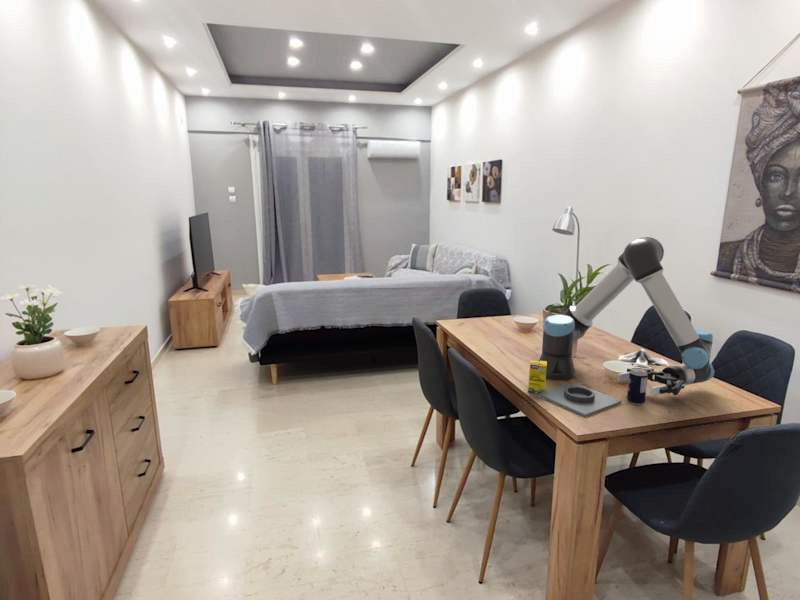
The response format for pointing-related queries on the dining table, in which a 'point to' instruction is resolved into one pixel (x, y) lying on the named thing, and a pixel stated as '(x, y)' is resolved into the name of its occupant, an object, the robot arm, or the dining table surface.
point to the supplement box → (537, 376)
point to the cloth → (642, 359)
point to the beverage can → (637, 386)
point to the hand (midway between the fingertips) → (634, 384)
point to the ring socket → (580, 399)
